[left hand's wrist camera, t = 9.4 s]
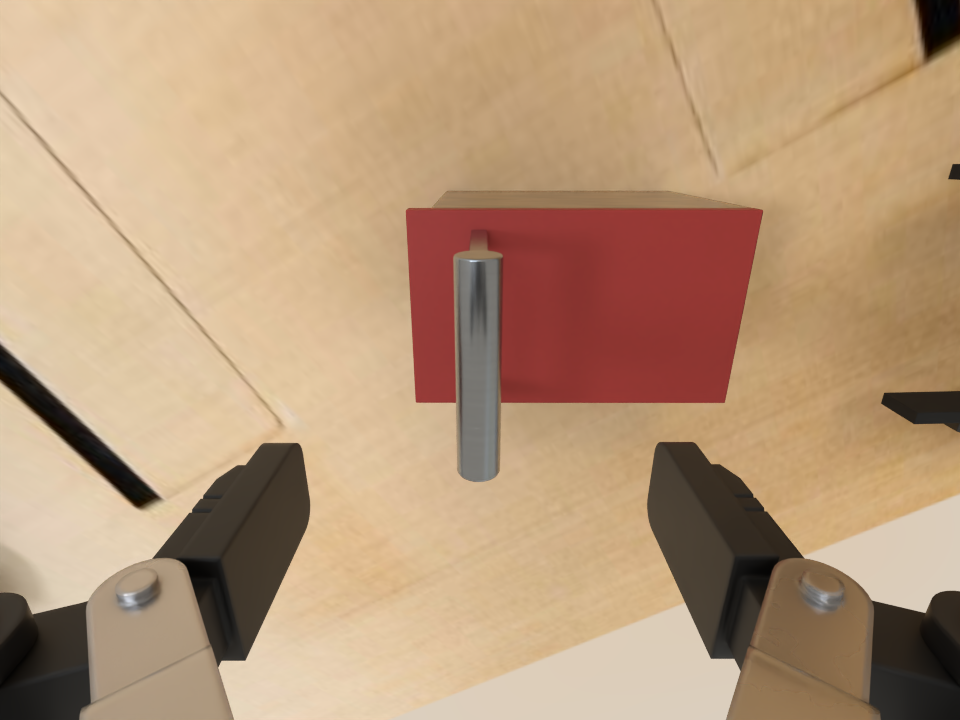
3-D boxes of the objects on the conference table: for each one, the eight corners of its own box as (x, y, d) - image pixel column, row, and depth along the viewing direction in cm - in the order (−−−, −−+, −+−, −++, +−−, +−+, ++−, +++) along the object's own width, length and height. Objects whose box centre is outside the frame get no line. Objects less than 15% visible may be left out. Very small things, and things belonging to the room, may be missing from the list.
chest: (449, 327, 36) (436, 395, 26) (445, 191, 33) (430, 207, 23) (651, 327, 36) (717, 395, 26) (668, 191, 33) (754, 208, 23)
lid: (417, 395, 26) (391, 498, 18) (408, 208, 23) (370, 236, 15) (718, 396, 26) (818, 498, 18) (754, 208, 23) (897, 236, 15)
